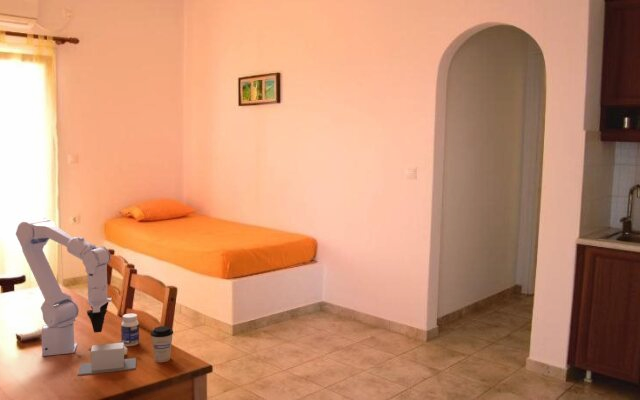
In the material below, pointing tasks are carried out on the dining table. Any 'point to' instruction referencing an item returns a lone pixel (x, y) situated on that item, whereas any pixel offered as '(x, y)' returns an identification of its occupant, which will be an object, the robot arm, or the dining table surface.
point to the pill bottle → (130, 330)
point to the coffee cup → (162, 343)
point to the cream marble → (125, 350)
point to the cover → (107, 356)
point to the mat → (86, 369)
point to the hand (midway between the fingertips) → (98, 327)
